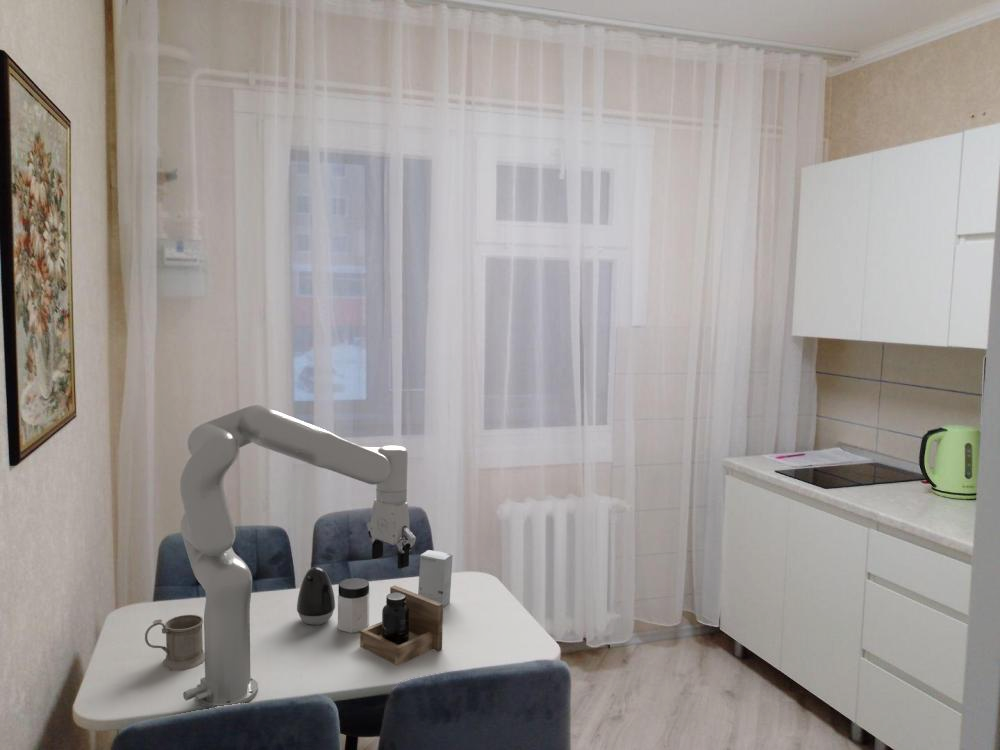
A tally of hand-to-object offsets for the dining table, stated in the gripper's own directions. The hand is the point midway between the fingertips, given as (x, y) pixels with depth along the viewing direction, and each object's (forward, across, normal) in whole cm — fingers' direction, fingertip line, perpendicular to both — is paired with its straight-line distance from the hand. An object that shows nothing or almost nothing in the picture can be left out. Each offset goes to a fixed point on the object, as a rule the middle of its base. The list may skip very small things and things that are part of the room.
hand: (390, 562), depth 188 cm
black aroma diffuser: (+23, -27, -3) cm, 35 cm away
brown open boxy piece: (+23, +1, +2) cm, 23 cm away
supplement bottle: (+21, +1, +1) cm, 21 cm away
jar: (+23, -17, +2) cm, 28 cm away
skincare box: (+23, -12, +28) cm, 38 cm away
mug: (+24, -31, -40) cm, 56 cm away
